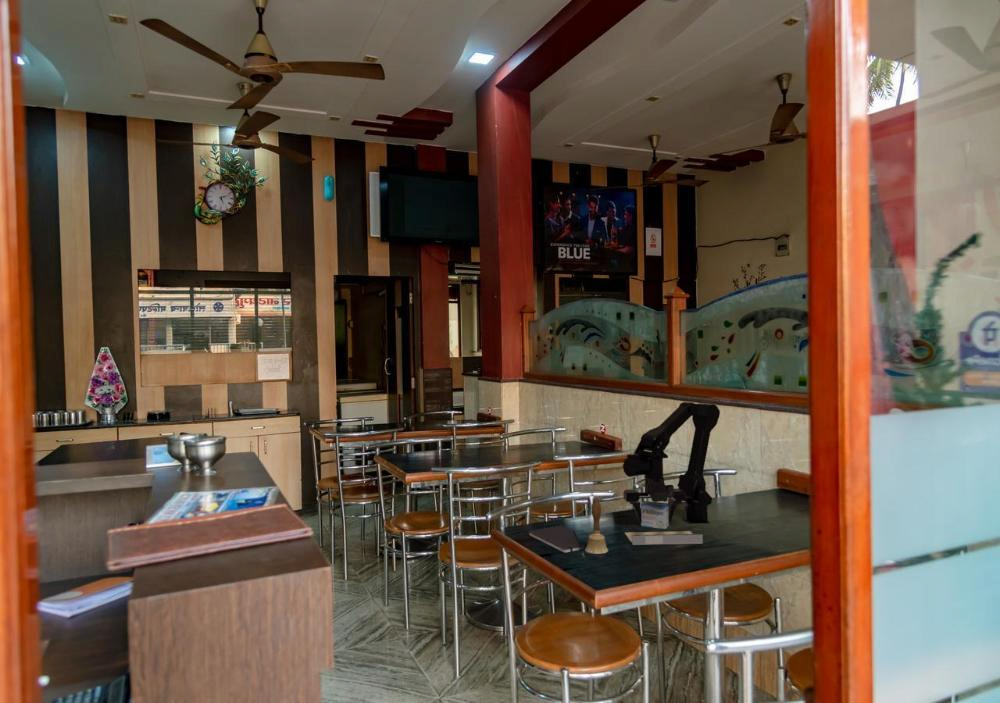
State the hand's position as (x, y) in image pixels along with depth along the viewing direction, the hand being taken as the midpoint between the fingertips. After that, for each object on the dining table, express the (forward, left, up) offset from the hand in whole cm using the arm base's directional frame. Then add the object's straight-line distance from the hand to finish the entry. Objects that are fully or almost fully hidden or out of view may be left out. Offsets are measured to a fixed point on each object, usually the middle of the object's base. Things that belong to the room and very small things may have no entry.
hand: (654, 522), depth 198 cm
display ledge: (+1, +13, -2) cm, 13 cm away
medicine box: (0, 0, -3) cm, 3 cm away
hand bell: (+22, +23, -3) cm, 32 cm away
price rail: (+1, +19, -1) cm, 19 cm away
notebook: (+30, +8, -3) cm, 31 cm away
